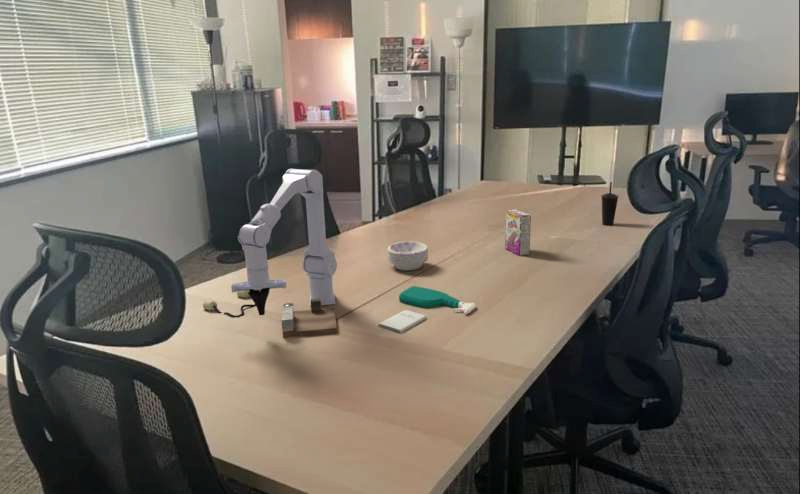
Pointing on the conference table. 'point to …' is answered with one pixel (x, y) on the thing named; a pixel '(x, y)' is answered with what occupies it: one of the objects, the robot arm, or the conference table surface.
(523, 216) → the candy bar box
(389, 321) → the external hard drive
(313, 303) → the stool seat
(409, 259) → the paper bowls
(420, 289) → the spray bottle
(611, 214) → the drinking cup
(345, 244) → the conference table surface
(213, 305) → the cable
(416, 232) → the conference table surface
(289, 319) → the folding leg
